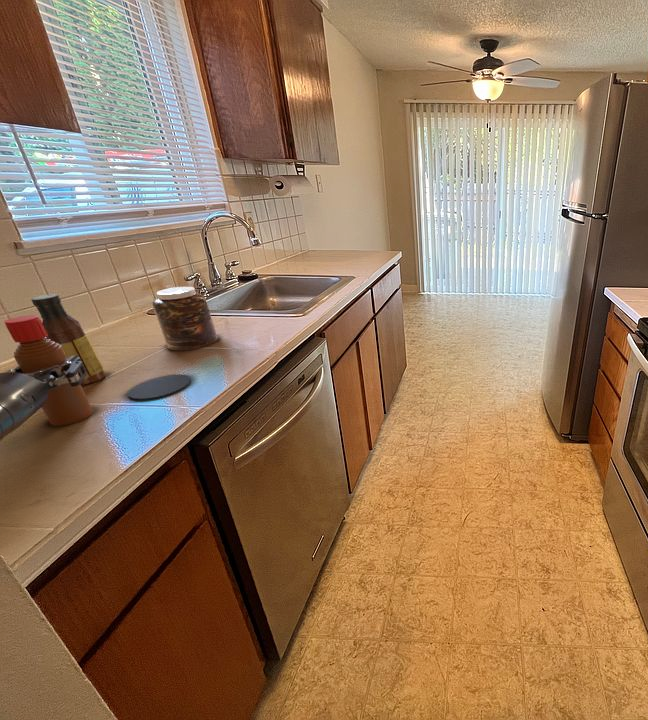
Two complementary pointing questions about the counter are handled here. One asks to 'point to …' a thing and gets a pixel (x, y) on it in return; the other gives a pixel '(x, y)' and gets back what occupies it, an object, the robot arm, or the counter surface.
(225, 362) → the counter surface
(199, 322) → the jar
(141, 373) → the counter surface
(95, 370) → the sauce bottle
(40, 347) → the bottle
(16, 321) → the cap
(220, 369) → the counter surface
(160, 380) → the coaster
